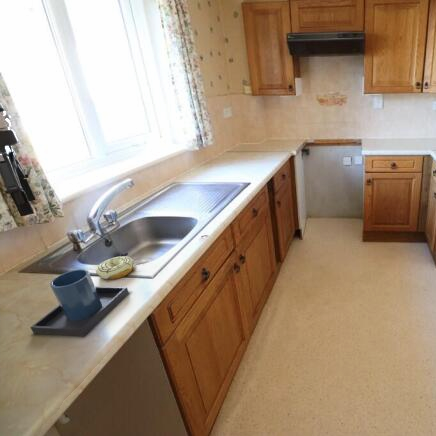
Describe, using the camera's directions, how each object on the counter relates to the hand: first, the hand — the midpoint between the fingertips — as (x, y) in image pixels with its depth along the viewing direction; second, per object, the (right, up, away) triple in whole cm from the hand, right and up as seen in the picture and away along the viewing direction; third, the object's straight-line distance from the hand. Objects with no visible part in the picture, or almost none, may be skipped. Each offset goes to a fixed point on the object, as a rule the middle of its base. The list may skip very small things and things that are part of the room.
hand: (29, 207), depth 90 cm
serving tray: (+17, -29, -1) cm, 34 cm away
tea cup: (+17, -29, -1) cm, 33 cm away
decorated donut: (+14, -21, +17) cm, 30 cm away
